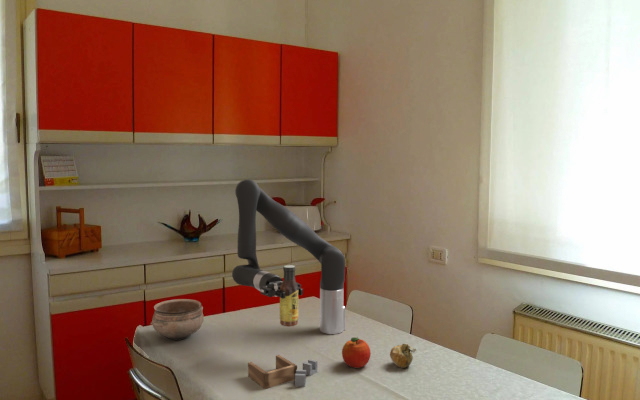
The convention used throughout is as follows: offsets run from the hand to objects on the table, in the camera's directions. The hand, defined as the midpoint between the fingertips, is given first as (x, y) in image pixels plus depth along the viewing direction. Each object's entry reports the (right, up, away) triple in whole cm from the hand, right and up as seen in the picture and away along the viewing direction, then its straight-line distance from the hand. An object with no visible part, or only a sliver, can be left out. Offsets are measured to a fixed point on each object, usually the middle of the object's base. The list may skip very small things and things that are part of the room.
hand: (293, 293), depth 178 cm
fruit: (+21, -24, +1) cm, 32 cm away
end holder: (-6, -25, -9) cm, 27 cm away
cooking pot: (-45, -21, +27) cm, 56 cm away
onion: (+36, -24, 0) cm, 43 cm away
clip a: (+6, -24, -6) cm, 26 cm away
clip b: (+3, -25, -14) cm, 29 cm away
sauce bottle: (-1, -11, +3) cm, 11 cm away
